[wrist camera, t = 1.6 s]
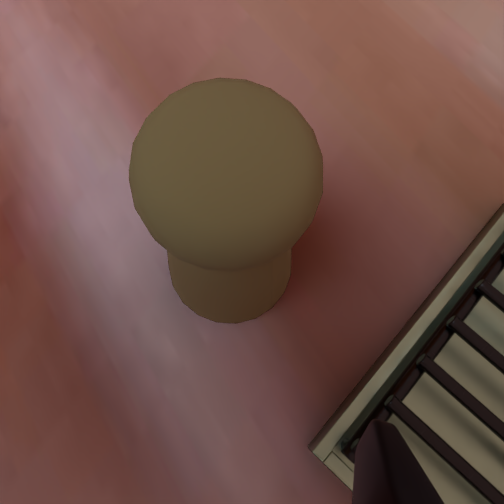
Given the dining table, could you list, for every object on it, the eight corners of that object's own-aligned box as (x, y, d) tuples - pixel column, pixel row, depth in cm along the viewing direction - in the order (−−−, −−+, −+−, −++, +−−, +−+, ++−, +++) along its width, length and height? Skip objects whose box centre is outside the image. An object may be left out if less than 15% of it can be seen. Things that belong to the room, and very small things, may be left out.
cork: (151, 231, 20) (60, 82, 10) (261, 188, 21) (287, 8, 11) (196, 344, 19) (148, 315, 8) (312, 292, 20) (401, 206, 9)
